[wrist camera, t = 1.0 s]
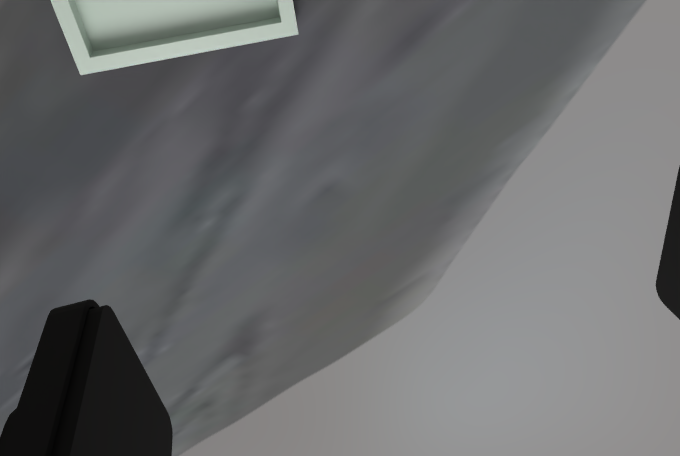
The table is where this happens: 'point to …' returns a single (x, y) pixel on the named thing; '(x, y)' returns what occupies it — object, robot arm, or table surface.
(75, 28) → the tray
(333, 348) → the table surface
